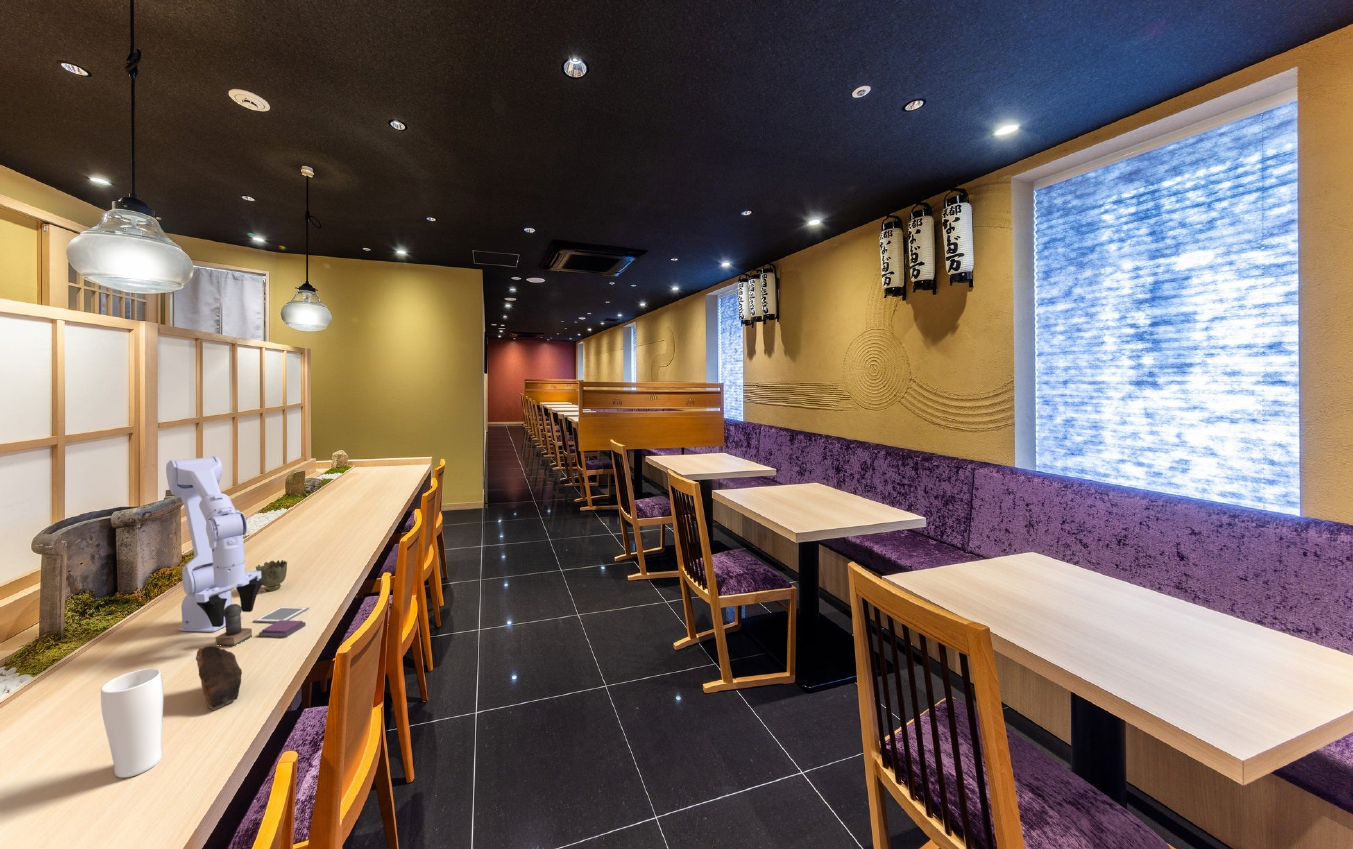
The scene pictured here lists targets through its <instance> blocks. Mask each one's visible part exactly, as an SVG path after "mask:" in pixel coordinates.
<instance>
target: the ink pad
mask: <svg viewBox="0 0 1353 849" xmlns="http://www.w3.org/2000/svg"><path fill="white" fill-rule="evenodd" d="M306 626H307V625H306V622H305V621H303V620H279V621H277V622H276V623H271V624H270V625H268V626H267V627H264V628H263V629H261V631H259V633H258V637H259V636H260V637H261V638H262V637H263V638H265V637H266V638H284V637H285V639H287V638H288V637H289V636H291V635H293V634H294V633H296V632H299V630H301V629H303V628H304V627H306Z"/></svg>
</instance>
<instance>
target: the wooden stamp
mask: <svg viewBox="0 0 1353 849" xmlns="http://www.w3.org/2000/svg"><path fill="white" fill-rule="evenodd" d="M242 612H243V611H242V608H241V604H237V603H232V604H231V605H229V606H227V607H226V608H225V609H224V617H225V624H226V626H225V632H223V633H222V634H219V635H217V636H216V637H215V644H216V645H219V646H218V647H228V646H235V647H237V646H238V645H237V644H239V645H240V644H242V643H244V642H246V641H247V640H249V639H251V638H253V631H252V628H247V627H242V618H241V616H242V615H241V613H242ZM250 637H251V638H250ZM245 640H246V641H245ZM241 642H242V643H241ZM220 645H221V646H220ZM236 645H237V646H236Z"/></svg>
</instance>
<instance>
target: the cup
mask: <svg viewBox="0 0 1353 849" xmlns="http://www.w3.org/2000/svg"><path fill="white" fill-rule="evenodd" d="M287 569H288V561H286V560H277V561H275V560H270V561H269V562H267V561H265V562H264V563H263V565H260V564H258V565H257V566H256V565H255V571H261V578H260V579H257V580H261V581H263V585H262V586H263V587H265V590H266V591H267V592H274V591H277V590H280V588H281V586H282V585H281V584H282V583H283V582H284V581H285V579H286V576H287V571H288V570H287Z"/></svg>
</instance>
